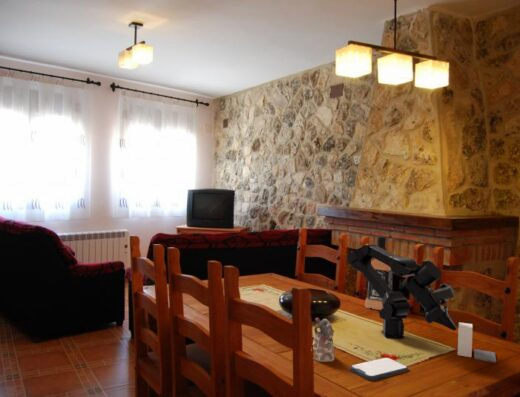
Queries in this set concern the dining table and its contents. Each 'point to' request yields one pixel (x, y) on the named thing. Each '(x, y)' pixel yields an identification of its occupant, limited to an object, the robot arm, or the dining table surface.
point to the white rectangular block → (465, 339)
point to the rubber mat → (484, 355)
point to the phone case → (378, 369)
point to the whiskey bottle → (386, 274)
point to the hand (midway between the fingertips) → (455, 329)
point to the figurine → (323, 341)
